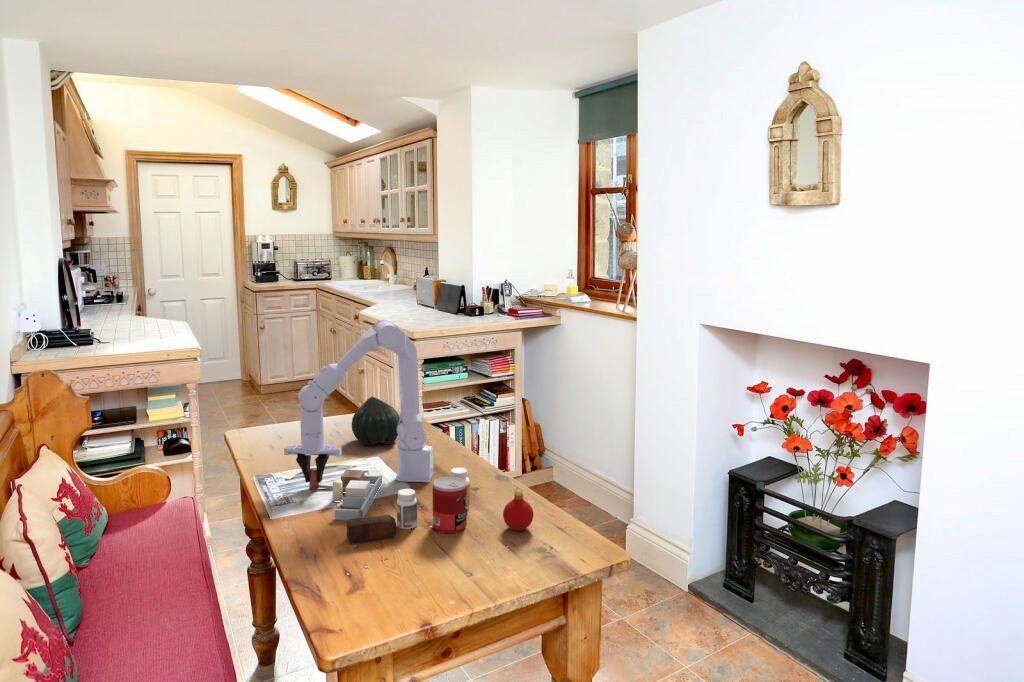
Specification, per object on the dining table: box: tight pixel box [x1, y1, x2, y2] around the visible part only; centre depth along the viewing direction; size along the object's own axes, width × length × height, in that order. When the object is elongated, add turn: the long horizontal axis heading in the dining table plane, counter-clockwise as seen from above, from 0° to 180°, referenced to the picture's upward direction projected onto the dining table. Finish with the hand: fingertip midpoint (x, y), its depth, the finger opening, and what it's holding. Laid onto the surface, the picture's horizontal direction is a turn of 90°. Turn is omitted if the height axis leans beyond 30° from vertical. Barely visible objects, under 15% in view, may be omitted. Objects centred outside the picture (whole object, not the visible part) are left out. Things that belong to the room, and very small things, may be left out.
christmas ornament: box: [502, 487, 534, 531], centre depth 166 cm, size 7×7×10 cm
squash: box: [351, 396, 400, 446], centre depth 225 cm, size 14×15×15 cm
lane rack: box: [334, 474, 383, 521], centre depth 181 cm, size 7×22×2 cm, turn 178°
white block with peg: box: [332, 479, 371, 502], centre depth 181 cm, size 9×5×5 cm, turn 88°
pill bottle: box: [396, 488, 418, 530], centre depth 167 cm, size 5×5×8 cm
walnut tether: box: [308, 467, 366, 492], centre depth 188 cm, size 14×5×5 cm, turn 87°
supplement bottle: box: [450, 467, 471, 510], centre depth 178 cm, size 5×5×10 cm
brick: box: [345, 514, 397, 545], centre depth 161 cm, size 11×4×5 cm, turn 112°
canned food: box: [432, 476, 468, 534], centre depth 167 cm, size 8×8×11 cm
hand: (313, 481), depth 188 cm, fingers closed on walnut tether, 2 cm apart
